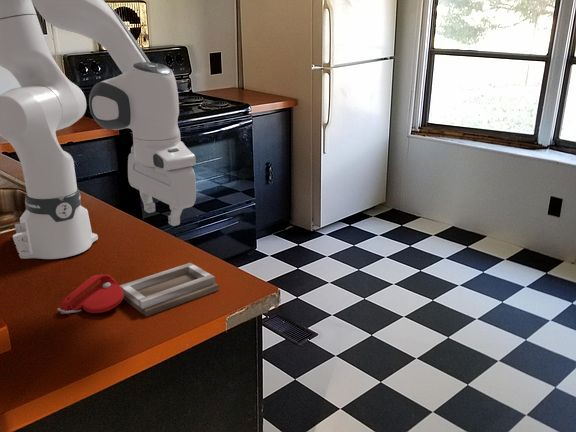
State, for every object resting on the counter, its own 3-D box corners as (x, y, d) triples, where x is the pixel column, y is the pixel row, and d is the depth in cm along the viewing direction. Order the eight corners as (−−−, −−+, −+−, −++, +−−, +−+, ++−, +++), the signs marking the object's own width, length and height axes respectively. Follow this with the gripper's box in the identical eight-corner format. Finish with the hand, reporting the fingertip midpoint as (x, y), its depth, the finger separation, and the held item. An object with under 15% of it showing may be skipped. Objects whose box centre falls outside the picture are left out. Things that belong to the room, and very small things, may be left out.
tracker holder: (120, 316, 115) (130, 286, 124) (114, 298, 113) (125, 268, 122) (57, 323, 116) (72, 292, 125) (51, 304, 114) (66, 274, 122)
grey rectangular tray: (117, 295, 124) (116, 283, 123) (188, 271, 135) (187, 260, 134) (146, 316, 116) (145, 304, 115) (218, 290, 126) (218, 278, 125)
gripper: (117, 142, 120) (122, 207, 125) (170, 164, 106) (174, 236, 111) (145, 138, 124) (149, 201, 129) (200, 158, 110) (203, 228, 115)
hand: (161, 217), depth 120 cm, fingers open, 8 cm apart
